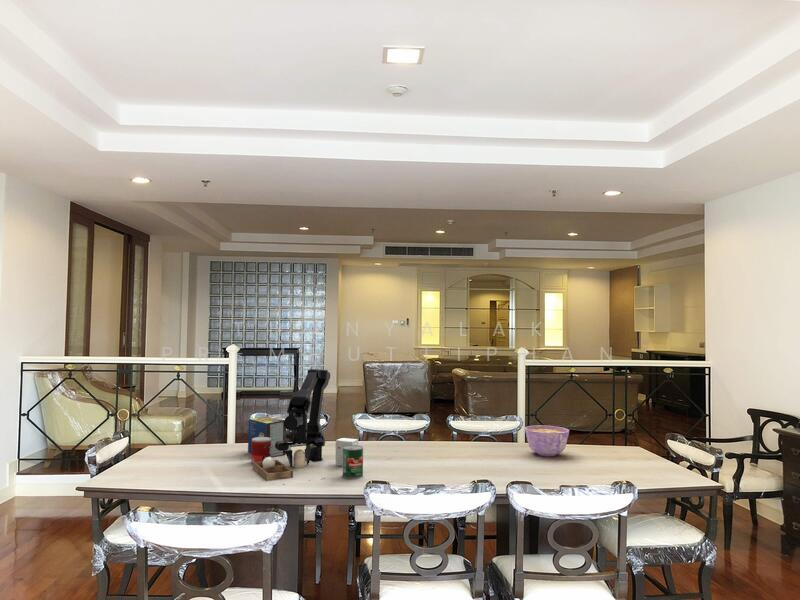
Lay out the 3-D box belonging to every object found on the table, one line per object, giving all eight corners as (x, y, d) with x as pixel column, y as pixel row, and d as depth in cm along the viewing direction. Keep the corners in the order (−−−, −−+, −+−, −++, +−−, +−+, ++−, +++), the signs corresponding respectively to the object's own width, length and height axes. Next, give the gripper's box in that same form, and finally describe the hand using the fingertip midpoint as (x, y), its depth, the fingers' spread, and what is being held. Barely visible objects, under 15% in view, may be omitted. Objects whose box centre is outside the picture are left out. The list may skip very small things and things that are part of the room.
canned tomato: (352, 472, 220) (353, 444, 220) (367, 475, 215) (367, 447, 215) (338, 476, 214) (338, 447, 214) (352, 480, 209) (353, 450, 209)
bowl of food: (575, 459, 245) (574, 433, 246) (529, 459, 246) (529, 432, 246) (562, 450, 265) (562, 425, 266) (520, 449, 266) (520, 424, 266)
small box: (358, 464, 232) (358, 439, 233) (351, 467, 227) (352, 441, 228) (341, 462, 236) (342, 437, 236) (335, 465, 231) (335, 439, 231)
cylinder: (302, 467, 227) (303, 447, 227) (306, 470, 223) (306, 450, 223) (291, 468, 224) (292, 448, 225) (295, 471, 220) (295, 451, 221)
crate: (277, 468, 224) (277, 459, 224) (292, 480, 207) (292, 471, 207) (252, 471, 219) (253, 462, 219) (266, 483, 202) (267, 474, 202)
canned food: (265, 468, 224) (266, 440, 225) (247, 467, 226) (248, 439, 227) (273, 464, 232) (274, 437, 233) (256, 462, 234) (256, 436, 234)
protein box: (267, 449, 259) (267, 416, 260) (286, 455, 249) (286, 420, 250) (247, 453, 252) (248, 418, 253) (265, 458, 241) (266, 422, 242)
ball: (273, 467, 221) (273, 455, 221) (276, 470, 216) (277, 457, 217) (260, 469, 218) (260, 456, 219) (264, 472, 214) (264, 459, 214)
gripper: (314, 421, 236) (314, 458, 235) (271, 424, 227) (270, 463, 226) (324, 425, 226) (323, 464, 225) (279, 429, 217) (278, 469, 216)
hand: (299, 465), depth 224 cm, fingers open, 7 cm apart
